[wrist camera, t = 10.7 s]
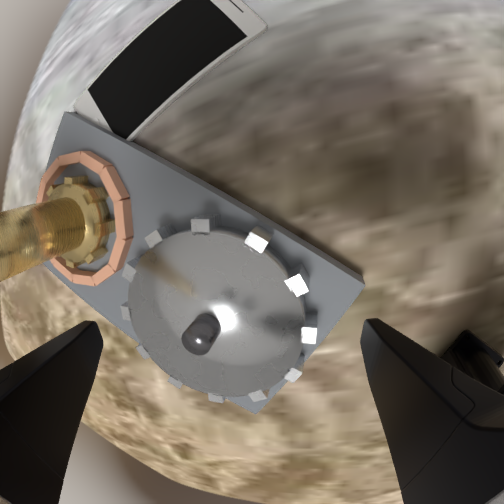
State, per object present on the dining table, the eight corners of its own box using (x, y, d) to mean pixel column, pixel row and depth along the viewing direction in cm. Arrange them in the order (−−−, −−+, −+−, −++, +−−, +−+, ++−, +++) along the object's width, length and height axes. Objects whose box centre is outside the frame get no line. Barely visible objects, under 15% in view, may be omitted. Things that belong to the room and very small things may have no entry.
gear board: (362, 276, 19) (367, 291, 17) (259, 402, 24) (253, 422, 21) (76, 112, 20) (56, 110, 18) (40, 247, 25) (23, 253, 23)
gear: (358, 286, 18) (367, 316, 14) (254, 410, 22) (242, 446, 19) (174, 175, 18) (140, 179, 15) (117, 324, 23) (89, 348, 19)
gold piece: (130, 228, 20) (-28, 297, 8) (85, 276, 22) (-37, 347, 10) (85, 157, 19) (-68, 175, 7) (47, 211, 22) (-77, 251, 10)
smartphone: (78, 105, 21) (71, 104, 20) (215, -20, 15) (211, -25, 15) (112, 164, 21) (105, 165, 20) (271, 31, 16) (268, 26, 15)
